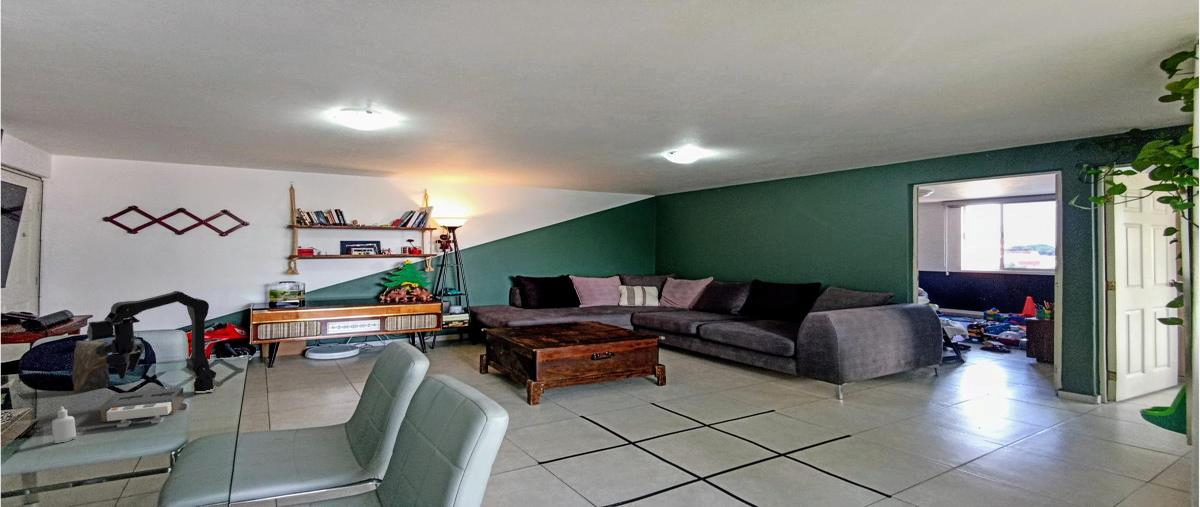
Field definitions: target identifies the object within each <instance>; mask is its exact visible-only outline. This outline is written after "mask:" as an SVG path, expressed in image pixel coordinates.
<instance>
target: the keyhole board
mask: <svg viewBox="0 0 1200 507" xmlns="http://www.w3.org/2000/svg"><path fill="white" fill-rule="evenodd" d="M184 396H185V395H184V387H183V386H182V387H173V388H172V387H171V388H162V389H160V388H159V389H152V390H143V391H131V392H122V393H121V392H120V393H115V394H114V395H112V396H110V398H109V399H107V400H106V401H105V402H104V403H103V404H101V405H100V416H101V417H100V418H101V423H106V422H108V421H107V413H106V412H108V411H109V410H110V409H111V408H116V407H127V406H136V405H146V404H156V403H166V402H171V408H172V410H171V412H170V413H169V415H174V414H176V412H178V410H179V409H180V408H181V406H182V405H183V404H184V403H183V401H184V402H185V397H184ZM182 403H183V404H182ZM181 404H182V405H181Z"/></svg>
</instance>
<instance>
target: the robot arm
mask: <svg viewBox="0 0 1200 507" xmlns="http://www.w3.org/2000/svg"><path fill="white" fill-rule="evenodd" d="M175 303H179V304H181V305H183V306H185V307H186V309H187V313H188V315H189V318H190V322H191V355H190V357H189V358H185V362H186V366H185V368H186V369H187V371H188V372H189V373H191V374H192V375H193V377H195V378H194V382H193V391H194V392H195V391H206V390H210V389H213V388H214V387H216V384H215V383H216V382H215V381H216V380H215V378H216V376H217V372H216V371H214V370H213V369H211V367H210V363H209V359H208V358H207V355H206V334H205V333H206V330H205V329H206V326H205V324H206V323H205V320H206V319H207V317H208V313H209V310H210V309H209V307H210V305H209V303H208V301H206V300H205V299H201V298H199V297H196V298H194V297H192V296H190V295H188V294H185V293H184V292H182V291H179V290H174V291H171V292H168V293H165V294H160V295H157V296H151V297H149V298H144V299H140V300H139V299H138V300H126V301H125V300H124V301H118V302H115V303H113V304H112V306H111V308H110V311H109V313H108V314H107V316H105V318H104V320H100V321H89V322H88V326H87V330H86V334H87V338H88V340H89V341H97V340H103V339H104V340H105V339H110V338H111V337H112V336H113V335H114V339H112V340H111V342H110V343H108V344H107V345H101V346H98V347H96V350H95V351H96V352H95V353H96V354H98V355H99V356H100V357H101V356H104V355H105V354H108V357H107V358H106V359H105V361H106V364H108V365H109V366H112V367H114V369H115V371H116V373H117V374H118V377H119V379H120V380H123V379H125V377H126V375H127V372H128V368H129V371H130V372H136V371H135V370H136V368H137V366H138V363H139V361H140V359H141V357H142V355H143V354H144V351H145V349H146V348H145V344H143V343H142V342H141V343H140V342H138V343H136V342H135V340H136V339H137V336H136V335H135V331H134V330H135V329H134V323H135V324H136V323H139V322H140V320H139V319H137V317H135V316H136V315H139V314H141V313H142V312H144V311H149V310H152V309H154V308H160V307H162V306H163V307H164V306H166V305H171V304H175ZM110 353H111V354H110ZM109 354H110V355H109Z"/></svg>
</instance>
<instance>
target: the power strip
mask: <svg viewBox="0 0 1200 507" xmlns="http://www.w3.org/2000/svg"><path fill="white" fill-rule="evenodd" d="M171 410H172V408H171V402H165V403H155V404H145V405H135V406H126V407H116V408H111V409H110V410H109V411H108V412H106V413H107V421H106V422H111V421H119V422H118V423H117V424H116V425H117V426H116V427H117V428H125V427H126V428H127V427H129V425H130V424H132V423H131V419H138V418H146V417H147V418H148V417H153V418H152V419H151V420H150V423H151V424H160V423H162V422H163V421H164V416H167V415H170V412H171ZM129 419H130V420H129Z"/></svg>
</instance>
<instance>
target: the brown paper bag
mask: <svg viewBox="0 0 1200 507" xmlns="http://www.w3.org/2000/svg"><path fill="white" fill-rule="evenodd" d="M107 344H109V343H108V342H106V341H103V340H102V339H98V340H92V341H90V340H89V341H84V340H76V341H75V348H74V353H73V366H72V373H71V381H72V385H73V393H74V395H80V394H84V393H87V392H88V393H89V392H92V391H98V390H102V389H105V388H109V387H110V385H108V383H109V381H110V380H111V377H110V370H109V366H110V365H108V364H106V361H105V359H106V358H107V357H108V356H109V353H108V354H105V355H104V356H101V357H100V356H99V355H98V354H96V353H95V352H96V351H95V350H96V347H98V346H101V345H107Z"/></svg>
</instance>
